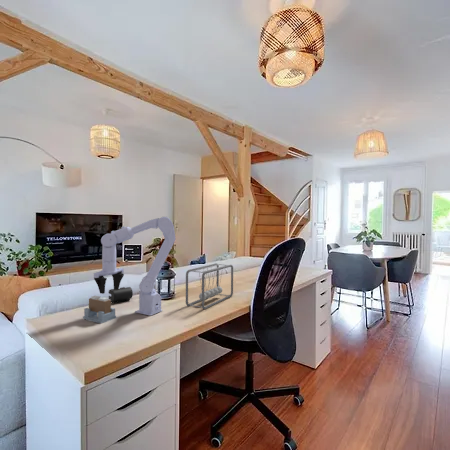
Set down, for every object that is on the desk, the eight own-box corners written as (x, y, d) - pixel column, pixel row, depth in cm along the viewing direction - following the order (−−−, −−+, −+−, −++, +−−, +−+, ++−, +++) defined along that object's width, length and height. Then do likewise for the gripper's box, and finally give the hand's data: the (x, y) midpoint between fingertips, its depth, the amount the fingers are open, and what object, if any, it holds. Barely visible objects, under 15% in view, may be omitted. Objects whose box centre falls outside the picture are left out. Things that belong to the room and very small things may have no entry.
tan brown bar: (110, 312, 116) (110, 298, 116) (104, 314, 114) (104, 299, 113) (94, 308, 121) (94, 295, 121) (88, 310, 118) (88, 296, 118)
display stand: (116, 317, 118) (116, 308, 118) (100, 323, 111) (101, 313, 111) (98, 313, 123) (98, 304, 123) (83, 319, 116) (83, 308, 116)
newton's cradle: (217, 293, 160) (217, 262, 160) (233, 296, 155) (233, 264, 155) (185, 307, 134) (185, 270, 134) (203, 310, 129) (203, 272, 129)
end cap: (114, 304, 137) (114, 291, 137) (107, 302, 142) (107, 288, 142) (132, 300, 144) (133, 287, 144) (126, 298, 149) (126, 285, 149)
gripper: (115, 258, 132) (115, 287, 132) (88, 262, 119) (88, 294, 119) (126, 259, 128) (126, 288, 129) (100, 263, 116) (100, 295, 116)
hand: (109, 291), depth 123 cm, fingers open, 7 cm apart
